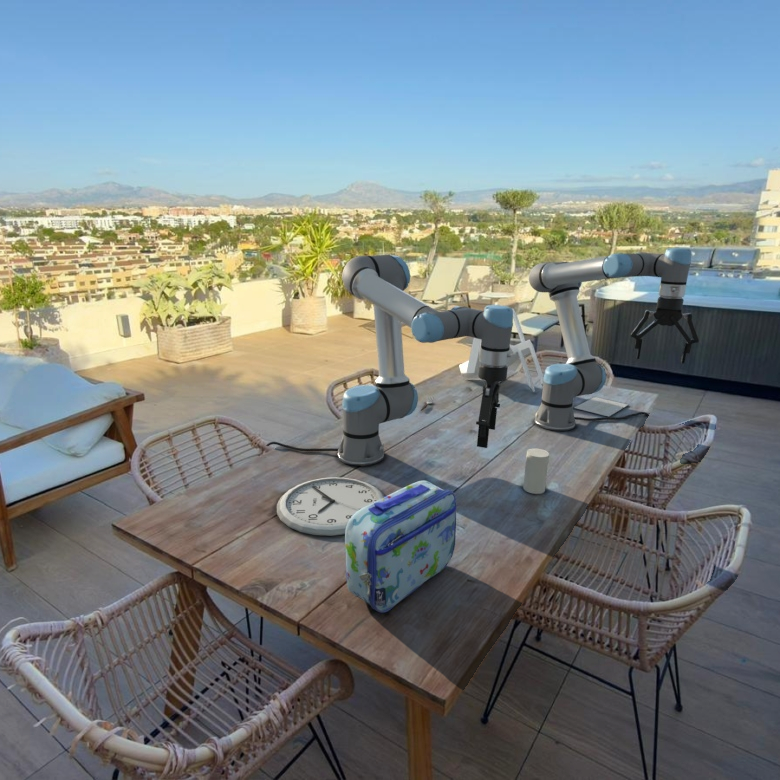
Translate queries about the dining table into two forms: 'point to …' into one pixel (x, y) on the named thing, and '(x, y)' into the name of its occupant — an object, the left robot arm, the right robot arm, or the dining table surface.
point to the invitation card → (601, 406)
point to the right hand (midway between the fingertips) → (659, 360)
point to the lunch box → (399, 543)
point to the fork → (427, 403)
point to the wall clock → (325, 504)
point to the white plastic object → (516, 351)
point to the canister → (536, 471)
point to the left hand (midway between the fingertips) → (486, 437)
